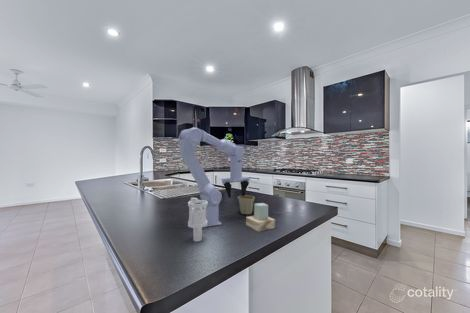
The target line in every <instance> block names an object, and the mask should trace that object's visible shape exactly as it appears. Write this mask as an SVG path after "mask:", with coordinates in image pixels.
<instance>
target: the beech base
mask: <svg viewBox="0 0 470 313" xmlns="http://www.w3.org/2000/svg"><path fill="white" fill-rule="evenodd" d="M245 226H247V227H249V228H250V229H253V230H254V231H256V232H263V231H267V230H272V229H276V219H275V218H272V217H270V216H268V219H265V220H258V219H256V218H255V217H254V215H251V216H245Z"/></svg>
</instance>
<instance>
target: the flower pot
mask: <svg viewBox="0 0 470 313" xmlns="http://www.w3.org/2000/svg"><path fill="white" fill-rule="evenodd" d="M237 199H238V202H239V209H240V214H243V215H251V214H252V213H253V207H254V202H255V199H256V197H255V196H254V195H247V194H245V196H241V195H239V196H237Z"/></svg>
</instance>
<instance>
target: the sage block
mask: <svg viewBox="0 0 470 313" xmlns="http://www.w3.org/2000/svg"><path fill="white" fill-rule="evenodd" d="M253 207H254V212H253V216H254V217H255V218H256V219H258V220H265V219H268V217H269V205H268V204H267V203H264V202H258V203H253Z"/></svg>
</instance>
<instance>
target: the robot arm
mask: <svg viewBox="0 0 470 313" xmlns="http://www.w3.org/2000/svg"><path fill="white" fill-rule="evenodd" d="M177 140H178V144H179V155H180V156H181V159H182V160H183V162H184V164H185V165H186V167H187V169H188V171H189V172H190V174H191V176H192V177H193V179H194V181H195V183H196V184H197V186H198V192H199V196H200V197H199V198H200V200H206V201H208V205H207V206H206V220H207V226H205V227H204V228H206V227H207V228H208V227H213V226H214V227H215V226H220V225H223V223H222V222H221V221H219V208H220V206H219V205H220V202H221V201H222V199H223V198H222V197H223V196H222V193H221V191H219V190H218V189H217V188H216V186H215V185H214V184H213V183H212V182H211V181H210V178H208V175H207V174H206V172H205V170H204V168H203V167H202V165H201V163H200V161H199V159H198V157H197V155H196V154H195V150H196V148H197V146H198V144H200V142H205V143H207V144H210V145H212V146H215V147H216V149H217V150H218V151H220V152H222V153H224V154H226V155H228V156H229V159H230V160H229V162H230V163H229V166H230V167H229V168H230V177H229V178H222V179H221V183H222V184H223V186H224V188H225V191H226V195H227V198H230V199H231V197H232V185H233V184H232V183H240V188H241V189H240V191H241V194H240V196H245V195H246V192H247V188H248V187H249V184H250V178H251V177H248V176H247V177H245V176H244V177H243V175H242V174H243V170H242V169H243V168H242V163H243V157H244V155H245V151H244V148H243V147H242V146H241V145H236V143H234V142H231V141H229V139H227V138H222V139H219V138H217V137H215V136H213V135H211V134H209V133H207V132H206V131H205V130H203V129H200V128H199V127H195V126H194V127H191V128H187V129H182V130H181V131H180V133H179V136H178V139H177ZM196 209H200V207H198V208H196ZM202 209H203V207H202Z"/></svg>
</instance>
